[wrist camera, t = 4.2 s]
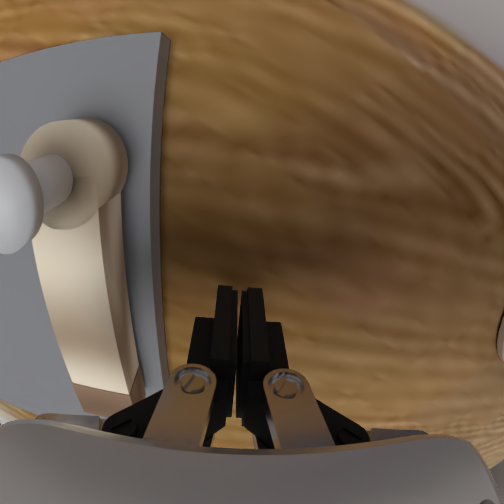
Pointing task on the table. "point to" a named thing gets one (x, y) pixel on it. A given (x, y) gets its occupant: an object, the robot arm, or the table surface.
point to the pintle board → (139, 125)
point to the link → (88, 265)
